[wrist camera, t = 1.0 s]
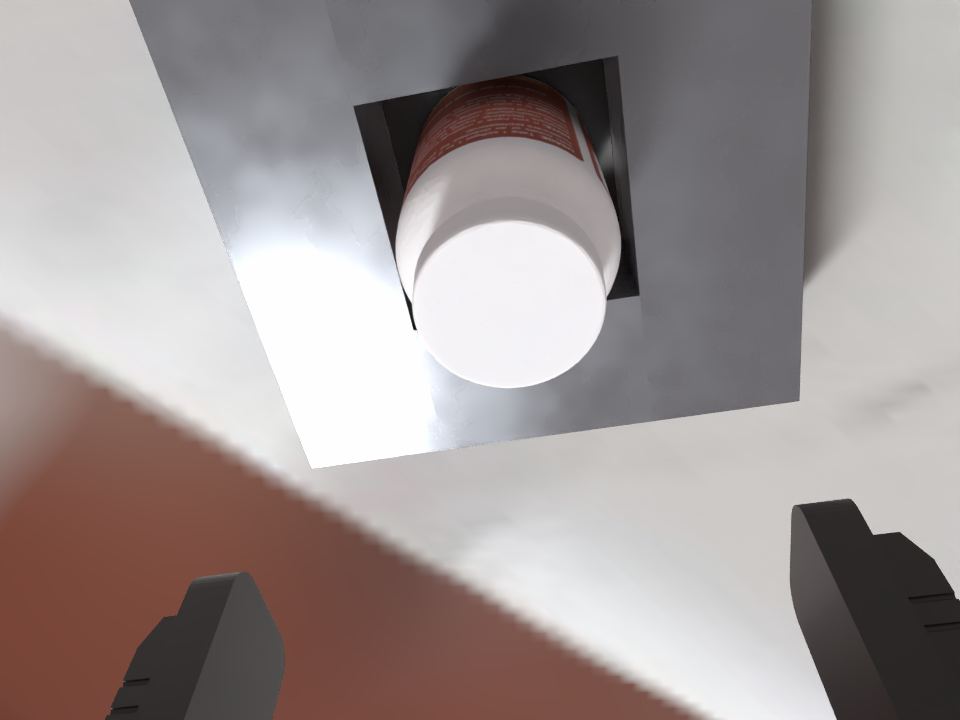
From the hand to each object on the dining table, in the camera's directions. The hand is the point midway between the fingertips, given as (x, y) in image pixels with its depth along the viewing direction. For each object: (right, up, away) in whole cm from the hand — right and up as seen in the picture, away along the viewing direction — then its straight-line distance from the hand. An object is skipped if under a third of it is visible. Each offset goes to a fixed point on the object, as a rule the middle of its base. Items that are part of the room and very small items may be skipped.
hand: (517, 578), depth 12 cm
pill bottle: (0, +10, +17) cm, 20 cm away
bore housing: (0, +10, +16) cm, 19 cm away
